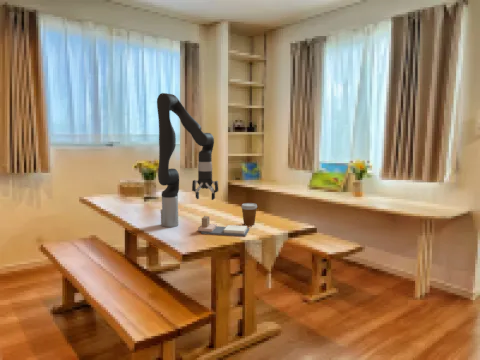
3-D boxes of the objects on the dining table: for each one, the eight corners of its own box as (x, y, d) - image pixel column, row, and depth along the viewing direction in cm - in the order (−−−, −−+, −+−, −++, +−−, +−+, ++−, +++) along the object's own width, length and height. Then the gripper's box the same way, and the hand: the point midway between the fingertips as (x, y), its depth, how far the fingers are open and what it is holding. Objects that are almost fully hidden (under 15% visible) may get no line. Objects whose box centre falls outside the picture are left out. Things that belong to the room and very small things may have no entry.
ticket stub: (197, 230, 191) (197, 219, 190) (203, 226, 201) (202, 214, 200) (212, 231, 190) (211, 219, 189) (216, 226, 199) (216, 215, 198)
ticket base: (201, 233, 189) (201, 229, 189) (208, 227, 202) (208, 223, 202) (245, 236, 185) (245, 231, 184) (249, 229, 197) (249, 225, 197)
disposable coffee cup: (247, 227, 202) (247, 206, 201) (237, 223, 210) (238, 204, 208) (260, 224, 208) (260, 204, 206) (250, 221, 216) (250, 202, 214)
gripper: (190, 170, 188) (190, 200, 191) (216, 171, 186) (216, 201, 188) (194, 168, 196) (194, 197, 198) (219, 169, 193) (219, 198, 195)
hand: (205, 199), depth 193 cm, fingers open, 8 cm apart
